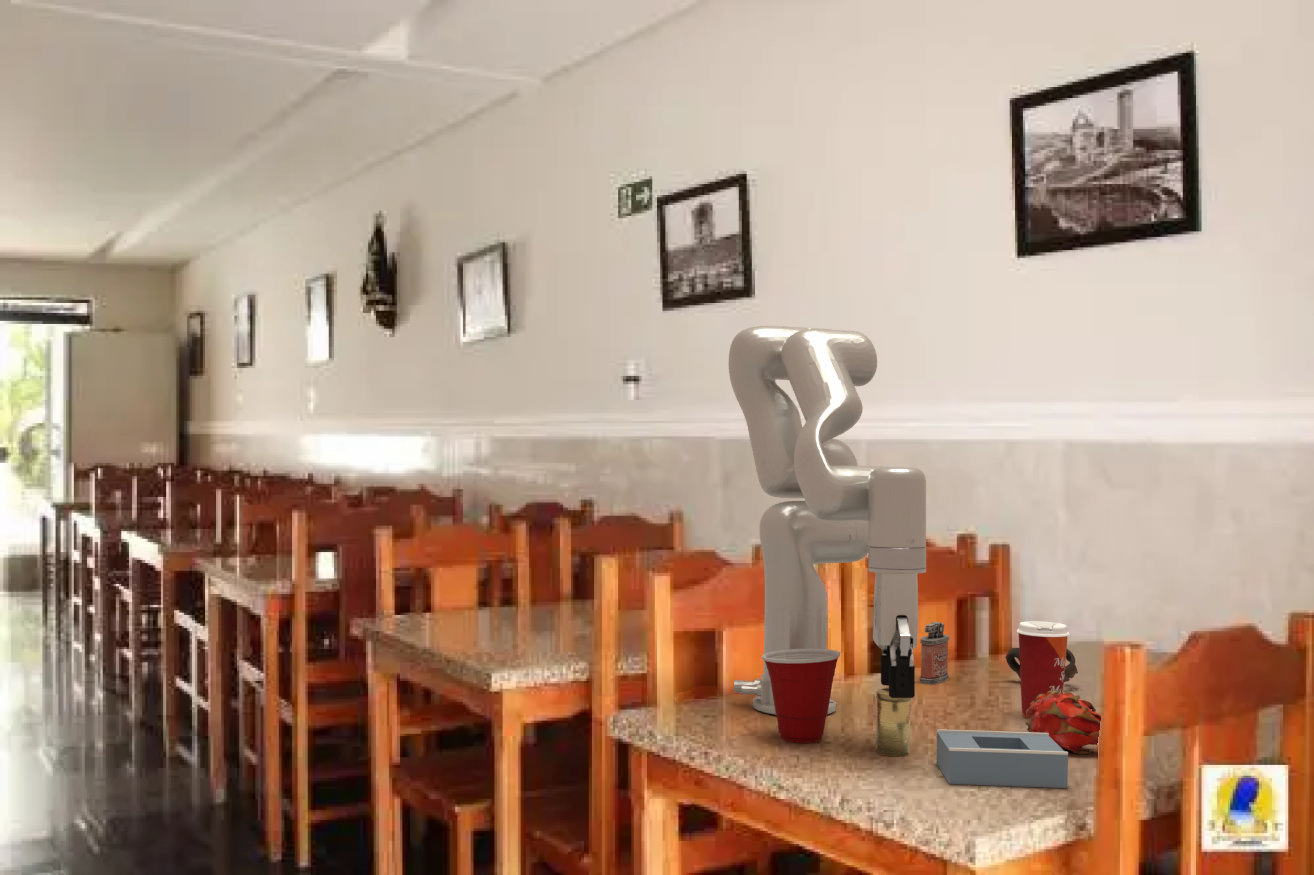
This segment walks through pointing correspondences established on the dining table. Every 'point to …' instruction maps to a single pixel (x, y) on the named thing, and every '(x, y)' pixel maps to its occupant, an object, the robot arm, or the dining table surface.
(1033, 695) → the paper cup
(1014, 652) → the pottery mug
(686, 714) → the dining table surface
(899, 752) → the brass flanged cylinder
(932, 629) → the lighter
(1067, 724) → the dragon fruit
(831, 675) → the plastic cup
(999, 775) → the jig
